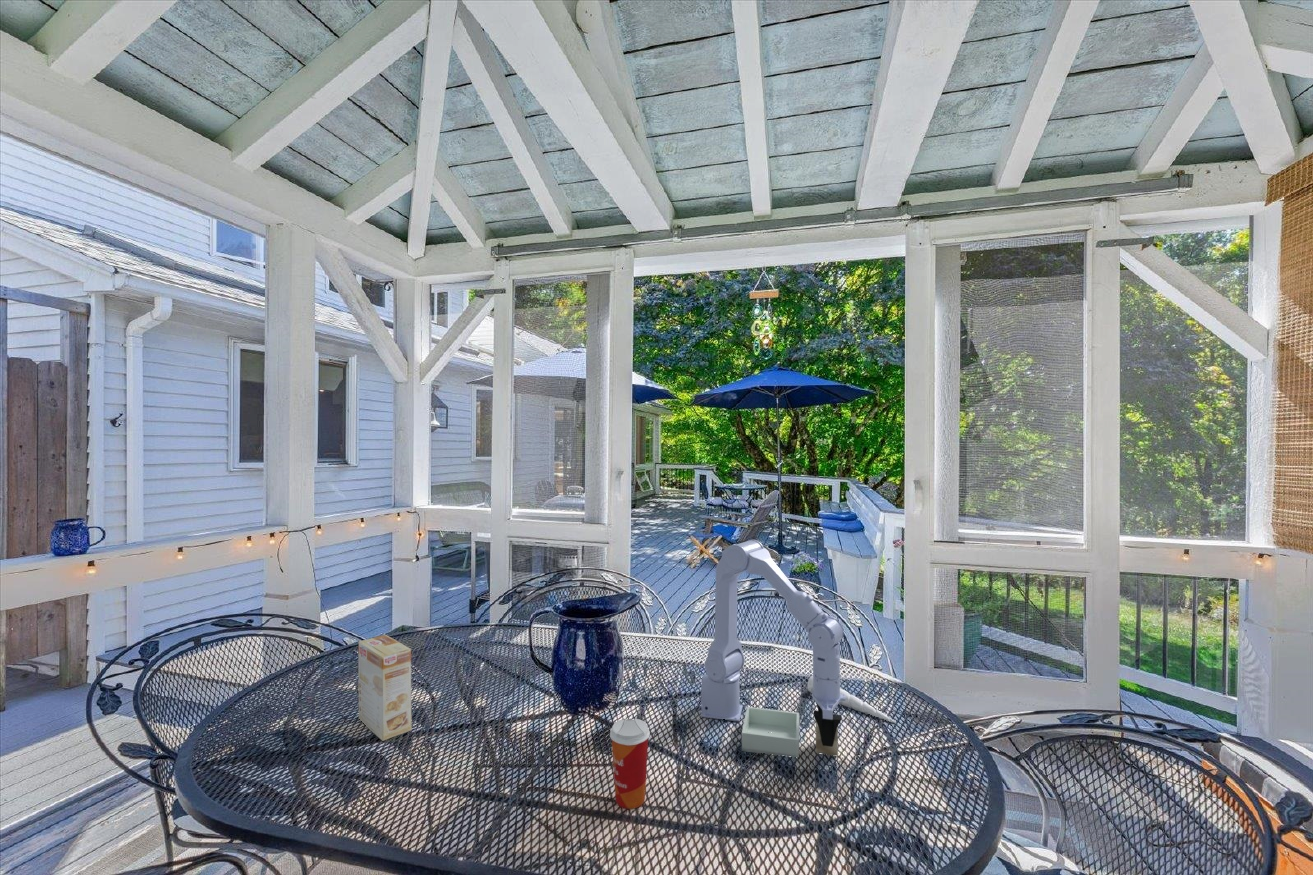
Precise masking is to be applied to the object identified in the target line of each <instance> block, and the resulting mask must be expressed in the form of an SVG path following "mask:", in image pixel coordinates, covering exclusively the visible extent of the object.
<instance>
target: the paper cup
mask: <svg viewBox="0 0 1313 875" xmlns="http://www.w3.org/2000/svg"><path fill="white" fill-rule="evenodd" d="M650 735H651V732H650V729H649V726H648V724H647V722H645V721H644V720H643V719H640V718H634V719H633V718H626V719H624V718H622V719H619V720H617V721H616V722H614V724H613V725H612V726H611V730H610V732H609V737H610V739H611V747H612V748H611V749H612V750H611V751H612V765H613V766H612V767H613V780H614V781H613V782H614V795H615V796H614V798H615V802H616V804H617V805H618V806H619V807H620V808H622V809H626V810H634V809H638V808H639V807H641V806H643V804H644V803H645V800H646V784H647V769H648V768H647V767H648V747H649V737H650Z"/></svg>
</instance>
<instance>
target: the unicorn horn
mask: <svg viewBox="0 0 1313 875" xmlns="http://www.w3.org/2000/svg"><path fill="white" fill-rule="evenodd" d="M807 690H808V693H811V694H812V692H813V674H812V675H811V676H810V677H809V679H807ZM840 694H844V695H845V696H846V701H840V703H839V704H840V705H842V706H844V707H847V708H850V709H852V710H854V711H858V712H860V713H862V714H866V715H868V714H870V715H869V716H871V715H872V716H871V717H874V716H875V717H874V718H876V717H879V718H878V719H880V720H882V719H884V720H883V721H885V720H886V721H885V722H888V721H889V722H888V723H893V724H896V723H897V722H896V721H895V720H894V719H892V718H891V717H889V716H888V715H887V714H885V713H883V712H882V711H880V710H878V709H875V707H874V706H871V705H870V704H869V703H867V702H865V701H863V700H861V698H858V697H856V695H854V694H851V693H850V692H848V691H846V690H845V689H843V688H841V687H840Z"/></svg>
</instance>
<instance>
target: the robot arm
mask: <svg viewBox="0 0 1313 875" xmlns="http://www.w3.org/2000/svg"><path fill="white" fill-rule="evenodd" d="M744 572H745V573H746V574H749V575H750V574H751V575H757V576H761V577H762V578H764V580H765V581H766V582H767V583H768V584H769V585H770V586H772V588H773V589H775V591H776V592H778V594H780V595H781V597H782V598H784V599H785V601H786V609H787V611H788V612H789V613H790V614H791V615H792V616H793V618H795V620H796V621H797V622H798V623H799V624H800V625H801V626H802V627H803V629H804V630H805V631H806V632H807V639H808V641H809V644H810V645H811V647H812V675H813V692H812V693H811V696H812V699H813V700H814V702H815V704H816V706H817V710H813V718H814V720H815V723H816V722H817V724H818V727H819V730H820V736H821V741H822V745H823V746H830V747H833V743H834V739H835V733H836V730H837V727H839V725H840V724H841V722H842V715H840V714H835V709H836V708H837V706H838V705H839V704H840V701H846V696H845V695H844V694H840V688H841V667H840V666H841V664H840V663H841V661H840V660H841V655H840V654H841V653H840V648H841V647H840V643H839V642H840V641H841V640H842V639H843V637H844V629H843V625H842V623H841V622H840V621H839V620H838V618H836V617H834V616H830V615H829V614H828V613H827V612H824V610H823V609H822V608H821V607H820V606H819V605H818V604H817V602H815V601H814V599H815V598H814V597H813V596H812V594H810V593H809V594H808V593H807V592H806V591H800V590H797V588H796V587H795V586H794V584H793V583H792V582H791V581H790V580H789V578H788V577H787V576H786V575H785V573H784V572H783V571H782V570H781V569H780V567H779V566H778V565H777V564H776V562H775V561H774V560H773V558H772V556H771V554H770V551H769V550H768V549H767V548H766V547H764V545H763V544H762V543H761V542H760V541H759V540H757V539H748V540H746V541H743V542H740V543H737V544H736V543H735V544H731V545H729V546H728V547H726V548H725V549H723V550H722V552H721V557H720V559H719V561H718V563H717V565H716V568H715V587H714V588H715V596H714V597H715V600H714V601H715V604H714V605H715V606H714V608H715V609H714V611H715V612H714V639H713V641H712V642H711V644H710V645H709V647H708V653H707V658H706V659H705V661H704V669H705V672H706V674H703V676H702V680H701V686H700V687H701V688H700V689H701V690H700V692H701V693H700V694H701V696H700V700H701V702H700V703H701V705H700V706H701V710H700V711H701V714H700V717H701V718H708V719H717V720H723V719H725V720H724V721H731V722H740V719H741V715H742V713H743V707H744V706H743V704H740V701H741V700H740V676H741V670H742V669H743V667H744V666H745V660H746V659H745V655H744V652H743V648H742V642H741V641H740V640H739V639H738V635H737V634H738V632H737V631H738V581H739V580H738V578H739V576H740V575H742V574H743V573H744Z"/></svg>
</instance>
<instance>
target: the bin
mask: <svg viewBox="0 0 1313 875" xmlns="http://www.w3.org/2000/svg"><path fill="white" fill-rule="evenodd" d="M768 732H769V733H768ZM771 732H772V733H771ZM773 732H774V733H773ZM747 751H749V753H754V752H755V754H761V753H762V755H763V753H765V754H764V755H768V754H774V755H773V756H776V755H787V756H792V757H797V758H796V759H798V757H799V758H800V712H795V711H786V710H778V709H777V710H776V709H772V708H771V709H769V708H760V707H752V706H746V711H745V716H744V720H743V725H742V731H741V752H747Z"/></svg>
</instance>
